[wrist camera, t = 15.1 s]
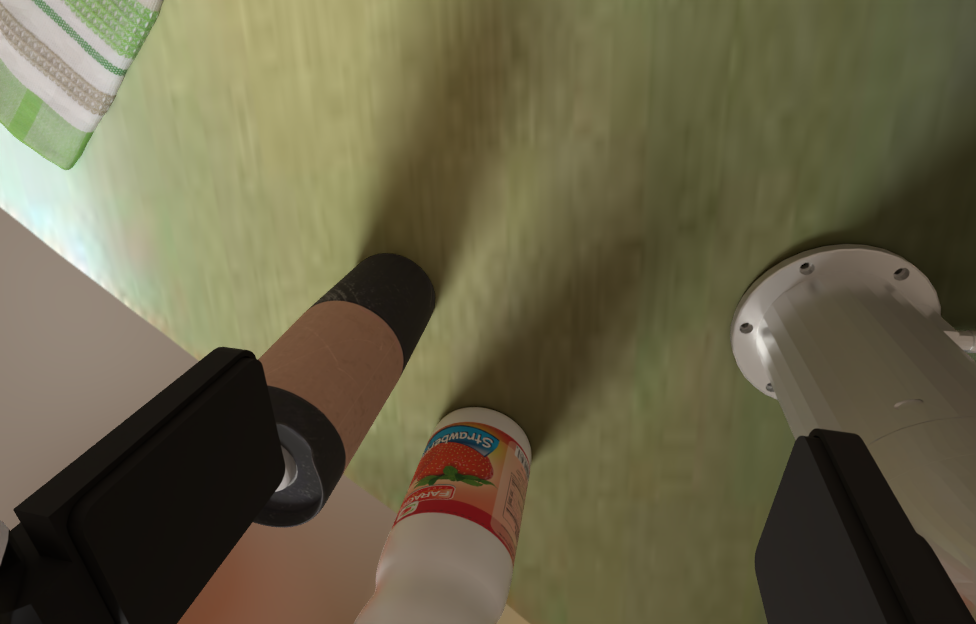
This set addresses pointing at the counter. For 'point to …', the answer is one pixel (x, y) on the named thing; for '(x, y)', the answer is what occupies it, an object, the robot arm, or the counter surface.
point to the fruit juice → (456, 526)
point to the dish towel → (66, 67)
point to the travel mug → (340, 377)
